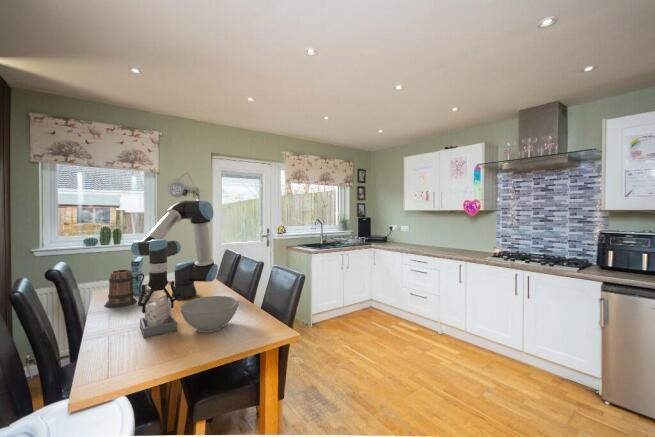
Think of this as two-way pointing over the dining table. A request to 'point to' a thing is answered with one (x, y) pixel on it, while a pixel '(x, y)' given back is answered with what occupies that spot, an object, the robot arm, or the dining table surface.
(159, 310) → the ink cartridge box
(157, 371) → the dining table surface
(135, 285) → the gum box
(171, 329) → the bin
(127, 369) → the dining table surface
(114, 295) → the tankard
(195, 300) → the decorative bowl
